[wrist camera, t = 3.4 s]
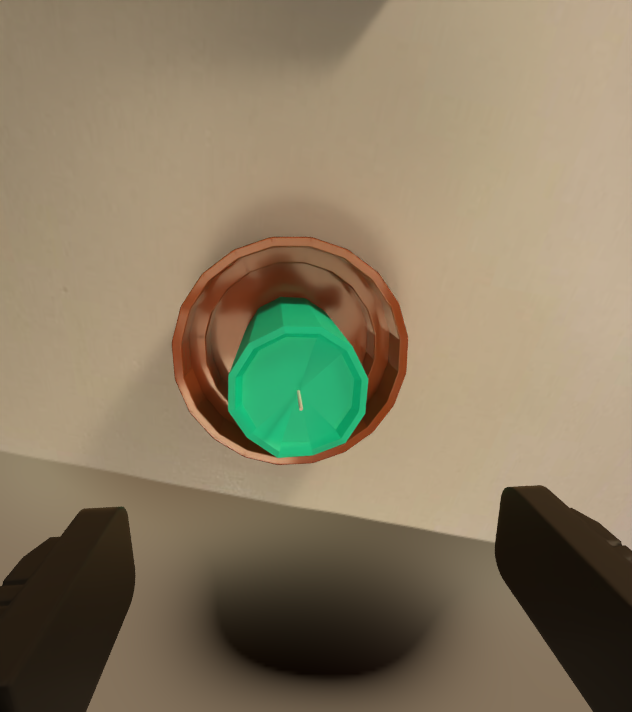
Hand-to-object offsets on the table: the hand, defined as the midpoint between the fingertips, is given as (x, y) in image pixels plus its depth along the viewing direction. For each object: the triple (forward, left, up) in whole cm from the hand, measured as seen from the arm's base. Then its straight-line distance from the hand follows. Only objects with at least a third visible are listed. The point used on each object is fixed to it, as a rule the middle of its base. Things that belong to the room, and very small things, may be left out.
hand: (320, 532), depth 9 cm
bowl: (0, 0, -20) cm, 20 cm away
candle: (0, 0, -19) cm, 19 cm away
